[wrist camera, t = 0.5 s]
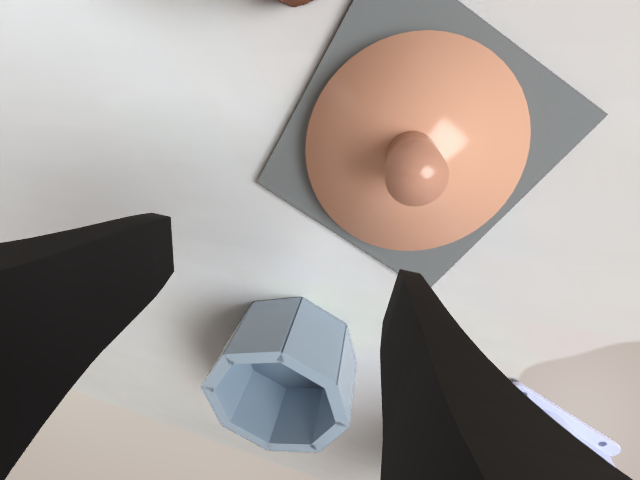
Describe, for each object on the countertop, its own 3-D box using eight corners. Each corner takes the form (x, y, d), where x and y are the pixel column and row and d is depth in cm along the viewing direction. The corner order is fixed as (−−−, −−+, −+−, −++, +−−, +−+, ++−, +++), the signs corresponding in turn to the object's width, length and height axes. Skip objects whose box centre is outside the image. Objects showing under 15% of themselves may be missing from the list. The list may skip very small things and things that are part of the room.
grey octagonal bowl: (377, 342, 23) (375, 406, 19) (313, 404, 27) (299, 468, 23) (269, 277, 22) (240, 327, 18) (220, 351, 27) (187, 406, 22)
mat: (603, 113, 15) (607, 114, 15) (425, 287, 21) (426, 291, 20) (383, -54, 14) (383, -57, 13) (258, 180, 19) (256, 182, 19)
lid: (577, 119, 15) (643, 137, 11) (424, 275, 20) (434, 325, 16) (387, -22, 14) (388, -58, 10) (275, 179, 19) (246, 207, 15)
